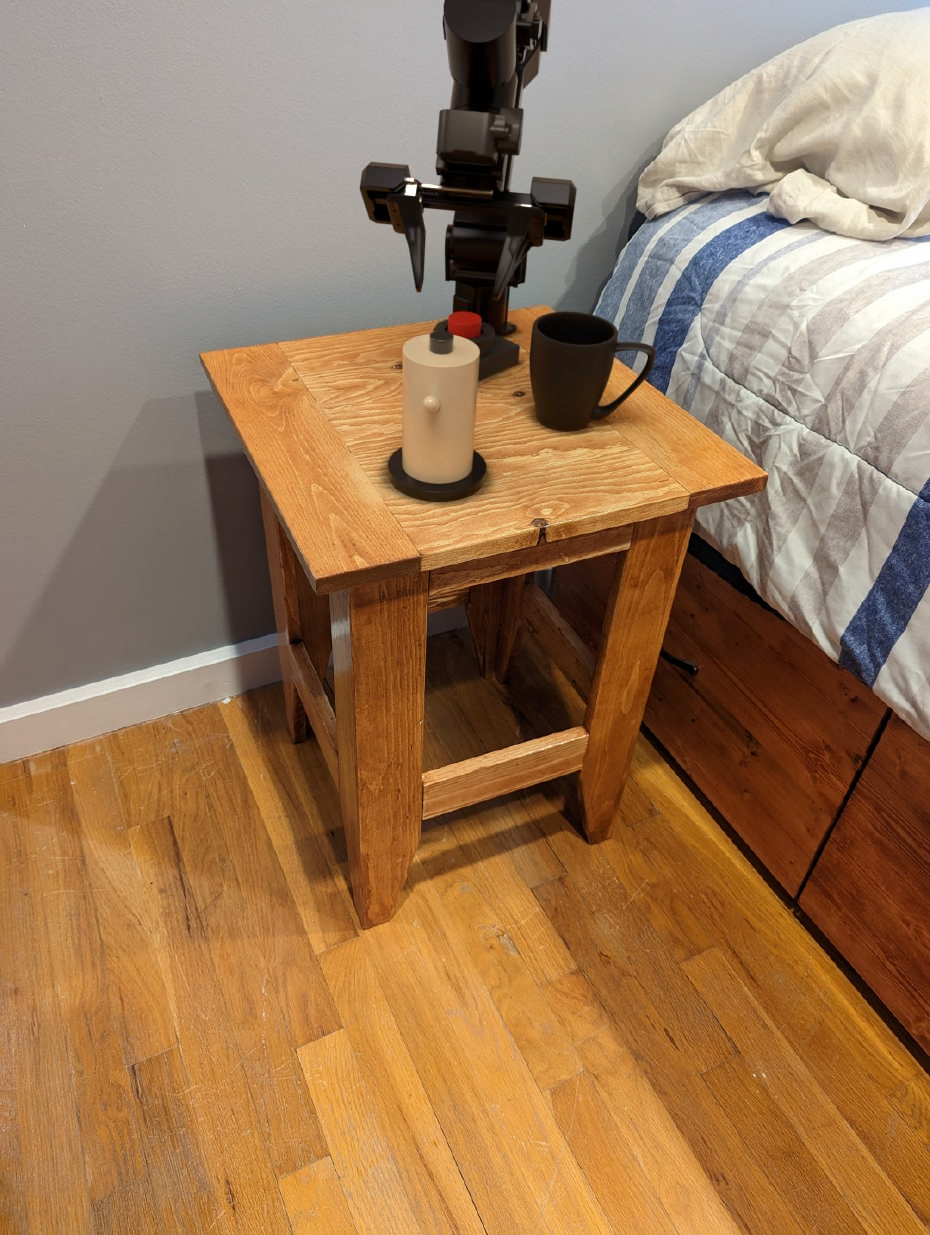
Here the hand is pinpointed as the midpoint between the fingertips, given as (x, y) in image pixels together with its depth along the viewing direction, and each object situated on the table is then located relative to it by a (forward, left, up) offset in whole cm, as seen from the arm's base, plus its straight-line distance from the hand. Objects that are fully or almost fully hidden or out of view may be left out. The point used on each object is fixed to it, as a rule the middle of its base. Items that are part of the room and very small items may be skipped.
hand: (456, 294), depth 76 cm
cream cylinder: (+8, +5, -13) cm, 16 cm away
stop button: (-12, -9, -10) cm, 18 cm away
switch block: (-12, -9, -14) cm, 20 cm away
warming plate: (+7, +5, -14) cm, 16 cm away
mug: (-11, +8, -14) cm, 19 cm away
